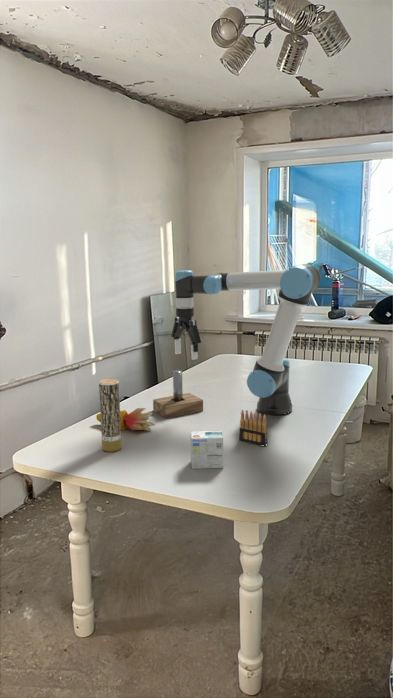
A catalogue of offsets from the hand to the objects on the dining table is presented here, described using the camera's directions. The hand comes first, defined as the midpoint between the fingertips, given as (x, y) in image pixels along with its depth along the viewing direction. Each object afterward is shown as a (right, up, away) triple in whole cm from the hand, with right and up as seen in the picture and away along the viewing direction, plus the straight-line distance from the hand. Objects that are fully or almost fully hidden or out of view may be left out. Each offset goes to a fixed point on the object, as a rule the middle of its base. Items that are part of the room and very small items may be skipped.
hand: (186, 356), depth 227 cm
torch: (-24, -28, -18) cm, 41 cm away
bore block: (-3, -23, +1) cm, 24 cm away
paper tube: (-26, -33, -39) cm, 57 cm away
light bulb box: (+8, -35, -52) cm, 64 cm away
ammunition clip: (+25, -31, -35) cm, 53 cm away
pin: (-3, -22, +1) cm, 22 cm away
